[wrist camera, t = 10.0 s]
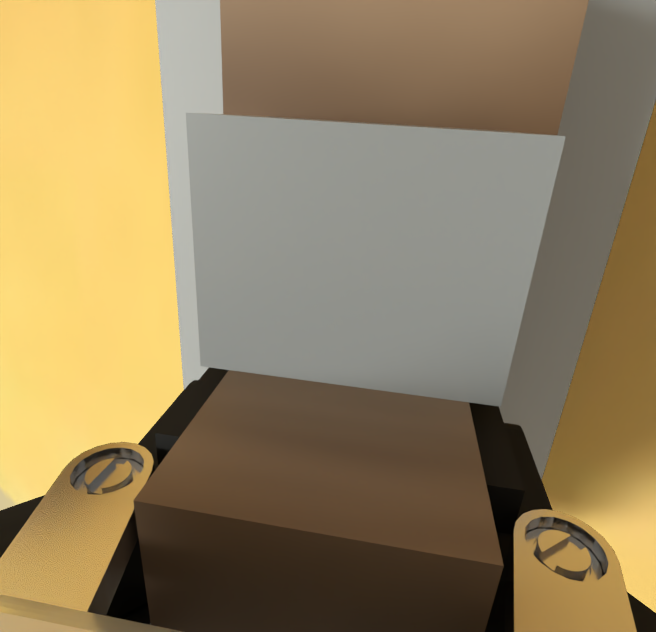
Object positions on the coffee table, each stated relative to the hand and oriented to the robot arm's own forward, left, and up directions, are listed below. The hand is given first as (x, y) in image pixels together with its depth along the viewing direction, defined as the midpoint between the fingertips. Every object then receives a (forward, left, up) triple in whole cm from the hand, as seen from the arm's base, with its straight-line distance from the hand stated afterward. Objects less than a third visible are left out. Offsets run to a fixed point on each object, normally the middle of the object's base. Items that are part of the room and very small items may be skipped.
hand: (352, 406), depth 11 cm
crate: (-4, 0, -2) cm, 4 cm away
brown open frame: (0, 0, -5) cm, 5 cm away
